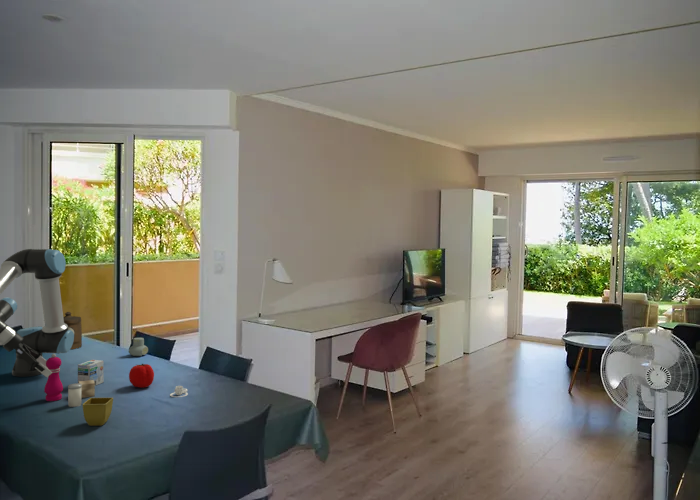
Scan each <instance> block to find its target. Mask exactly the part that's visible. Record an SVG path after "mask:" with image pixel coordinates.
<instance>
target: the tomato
mask: <svg viewBox="0 0 700 500" xmlns="http://www.w3.org/2000/svg"><path fill="white" fill-rule="evenodd" d="M128 379H129V382H130V384H131V385H132V386H133V387H135V388H139V389H140V388H147V387H148V388H149V386H151V385H152V384H153V382H154V380H155V371H154V369H153V367H152V365H150V364H147V363H141V364H135V365H134V366H133V367H131V369H130V370H129V373H128Z"/></svg>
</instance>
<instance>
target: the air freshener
mask: <svg viewBox="0 0 700 500" xmlns="http://www.w3.org/2000/svg"><path fill="white" fill-rule="evenodd" d="M148 352H149V347H148V346H147V345H145V339H144V337H134V338H133V339H132V346H130V347H129V349H128V354H129V355H131V356H133V357H143V356H142V355H144V356H145V355H146V354H147V353H148Z"/></svg>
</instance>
